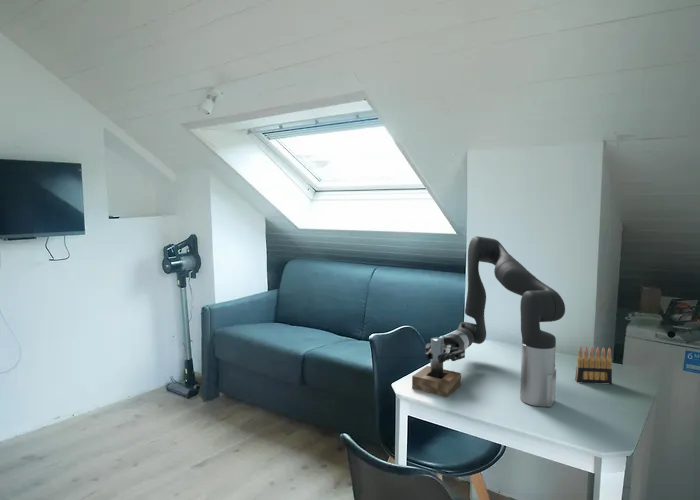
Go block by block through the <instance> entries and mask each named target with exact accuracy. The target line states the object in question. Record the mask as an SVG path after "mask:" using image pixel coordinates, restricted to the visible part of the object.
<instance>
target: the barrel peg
mask: <svg viewBox="0 0 700 500" xmlns="http://www.w3.org/2000/svg"><path fill="white" fill-rule="evenodd" d="M430 343H431V359H430V366H431V371H430V375H431V377H435V378H441V377H443V369H444V362H442V363H439V356H440V355H442V354H443V350H444V339H443V338H442V337H432V338H430Z"/></svg>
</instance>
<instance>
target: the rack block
mask: <svg viewBox="0 0 700 500" xmlns="http://www.w3.org/2000/svg"><path fill="white" fill-rule="evenodd" d="M430 371H431V365H430V366H429V365H426V366H425V367H423V368H421V369H420V370H419V371H417V372H416V373H415V374H412V375H411V376H412V380H411V382H412V384H411V386H412V387H411V389H414V388H415V390H418V389H419V391H422V390H423V391H424V392H426V391H427V392H426V393H431V394H434V395H439V396H443V397H447V398H448V397H450V395H451V394H453V392H455V391H456V390H457V389H459V387H461V386H462V372H458V371H454V370H449V369H444V368H443V377H441V378H435V377H431V375H430ZM423 391H422V392H423Z"/></svg>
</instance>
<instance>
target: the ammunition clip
mask: <svg viewBox="0 0 700 500" xmlns="http://www.w3.org/2000/svg"><path fill="white" fill-rule="evenodd" d="M600 352H601V354H600ZM577 356H578V357H577V360H576V361H577V362H576V369H575V380H574V381H575V382H576V383H578V382H582V383H581V384H595V383H609V384H608V385H613V369H612V366H613V365H612V361H613V360H612V349H611V347H608V349H607V354H606V349H605V347H604V346H603V347H602V349H601V351H600V348H599V347H598V346H597V347H596V350H595V352H594V347H593V346H591V347H590V351H589V349H588V346H585V348H584V352H583V347H582V346H579V348H578V355H577Z"/></svg>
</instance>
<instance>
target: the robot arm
mask: <svg viewBox="0 0 700 500" xmlns="http://www.w3.org/2000/svg"><path fill="white" fill-rule="evenodd" d="M467 249H468V250H467V293H466V300H465V307H464V314H465V315H466V316H468V317H469V318H472V319H474V321H475V323H473V322H468V321H463V322H460V323H459V325H458V327H457V329H456V330H455V331H453V332H450V333H449V334H446V336H444V337H443V338H442V339H444V350H443V354H442V355H440V356H439V363H442V362H443V363H444V362H446V361H449V360H450V361H451V362H456V361H459V360H462V359H465V357H466V350H467V349H468V348H469V347H471V346H472V344H477V345H480V344H483V343H484V342H485V340H486V339H487V329H486V322H485V311H486V310H485V309H486V304H487V303H486V302H487V292H486V289H485V285H484V283H483V281H482V279H481V275H480V269H479V266H480V262H481V263H488V264H492V265H493V266H494V271H493V273H494V278H495V279H496V281H498V282H499V283H500V284H501V285H502V287H504V289H506V290H508V291H509V292H511V293H514V295H515V294H516V295H518V296H520V297H521V299H520V305H519V306H520V309H519V311H520V333H521V337H522V338H521V358H520V359H521V361H520V363H521V364H520V365H521V366H520V391H519V394H520V395H519V398H520V401H522V402H524V403H525V404H528V405H530V406H534V407H547V408H552V406H553V404H554V402H555V401H556V385H557V369H556V368H555V366H556V350H557V349H556V347H557V346H556V343H557V339H556V336H555V335H554V334H552V333H550V332H548V331H545V330H542V329H541V327H540V326H541V324H540V323H550V322H556V321H559V320H561V319H562V318H563V317H564V315H565V313H566V304H565V301H564V300H563V298H562V296H561V295H560V294H559V292H557V291H556V290H555V289H554V288H552V287H550V286H549V285H547V284H546V283H544V282H542V281H541V280H540V279H538V278H537V277H536V276H535V275H533V274H532V273H531V272H530V271H529V269H527V268H526V267H525V266H524V265H522V264H521V262H519V261H518V260H516V258H514V257H513V256H512V255H511V254H510V253H509V252H508V251H507V249H506V248H505V247H504V246H503V244H502V243H501V242H500V241H499V240H497V239H495V238H492V237H491V238H490V237H484V236H480V235H479V236H474V237H472V238H471V239H470V241H469V244H468V248H467ZM424 351H425V352H424V359H425V360H426V361H429V360H431V342H427V343H426V346H425V349H424Z"/></svg>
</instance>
